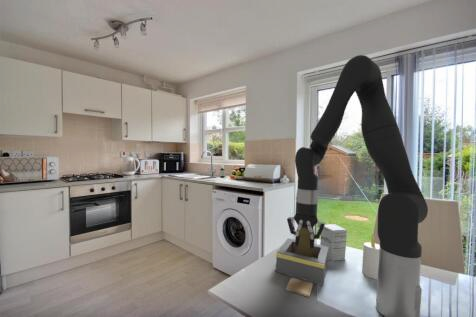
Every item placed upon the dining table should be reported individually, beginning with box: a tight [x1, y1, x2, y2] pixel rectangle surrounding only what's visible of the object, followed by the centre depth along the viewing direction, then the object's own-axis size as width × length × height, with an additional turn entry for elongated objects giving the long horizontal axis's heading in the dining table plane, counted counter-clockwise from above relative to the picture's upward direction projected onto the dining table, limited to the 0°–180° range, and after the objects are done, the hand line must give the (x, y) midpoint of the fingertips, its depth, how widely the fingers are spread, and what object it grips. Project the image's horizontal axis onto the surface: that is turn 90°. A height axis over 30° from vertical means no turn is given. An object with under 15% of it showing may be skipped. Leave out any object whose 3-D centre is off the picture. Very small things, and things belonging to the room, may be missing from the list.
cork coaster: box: [285, 276, 314, 298], centre depth 72 cm, size 7×7×1 cm
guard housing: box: [275, 237, 329, 286], centre depth 85 cm, size 16×17×7 cm
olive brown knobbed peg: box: [296, 227, 313, 258], centre depth 85 cm, size 6×6×11 cm
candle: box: [361, 233, 380, 280], centre depth 83 cm, size 6×6×15 cm
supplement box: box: [319, 223, 348, 262], centre depth 96 cm, size 7×7×13 cm
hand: (304, 247), depth 85 cm, fingers closed on olive brown knobbed peg, 4 cm apart
